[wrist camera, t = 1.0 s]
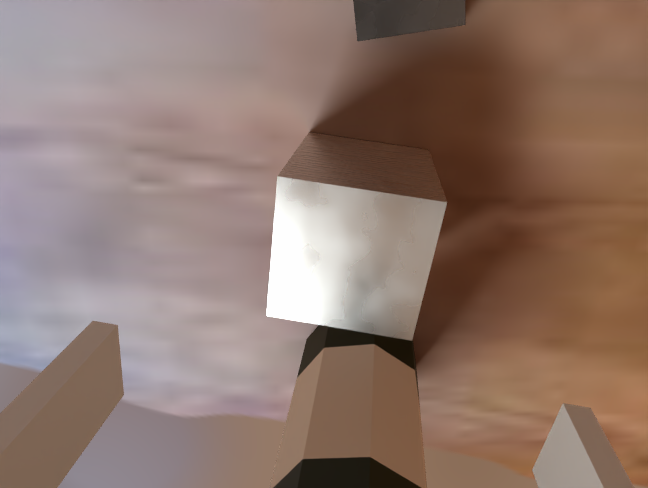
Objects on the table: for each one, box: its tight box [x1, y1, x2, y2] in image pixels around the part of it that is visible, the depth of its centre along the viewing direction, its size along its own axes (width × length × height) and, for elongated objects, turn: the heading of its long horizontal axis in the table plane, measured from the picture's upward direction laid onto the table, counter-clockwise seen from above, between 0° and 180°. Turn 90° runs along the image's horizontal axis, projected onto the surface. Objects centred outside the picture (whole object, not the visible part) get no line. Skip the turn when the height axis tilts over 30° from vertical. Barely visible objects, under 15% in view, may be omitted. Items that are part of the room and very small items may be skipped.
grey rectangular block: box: [267, 132, 447, 341], centre depth 25 cm, size 7×7×9 cm
